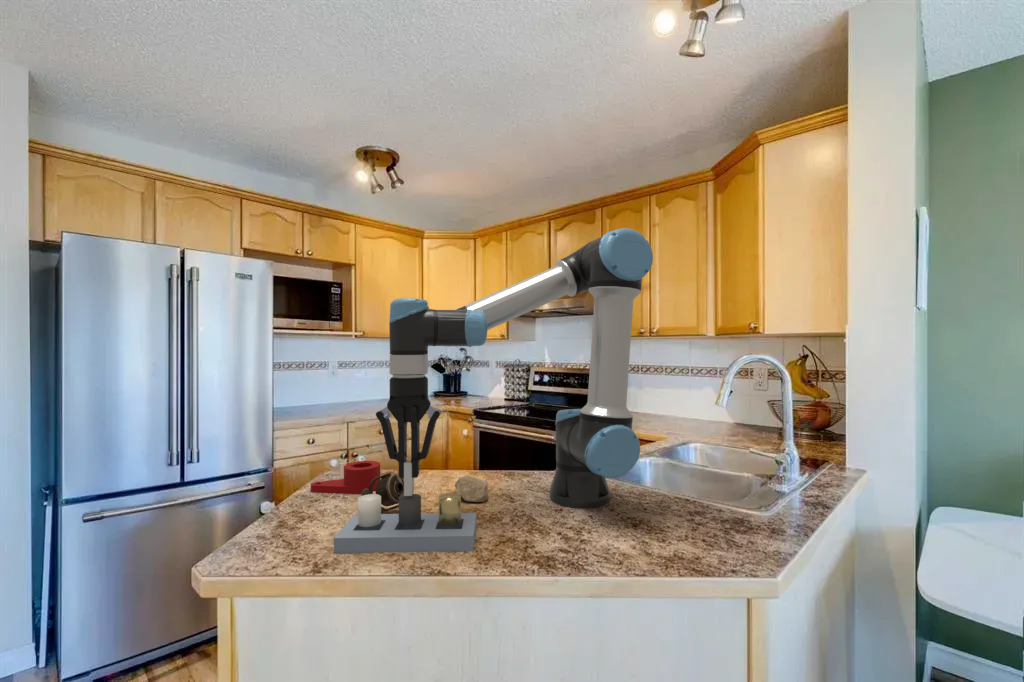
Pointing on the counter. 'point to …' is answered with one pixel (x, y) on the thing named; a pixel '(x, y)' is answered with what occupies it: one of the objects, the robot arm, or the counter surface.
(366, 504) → the white rounded cylinder
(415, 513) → the dark gray cylinder
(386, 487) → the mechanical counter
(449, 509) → the gold cylinder
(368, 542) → the grey slotted holder
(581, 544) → the counter surface
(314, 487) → the lever
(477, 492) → the stone
